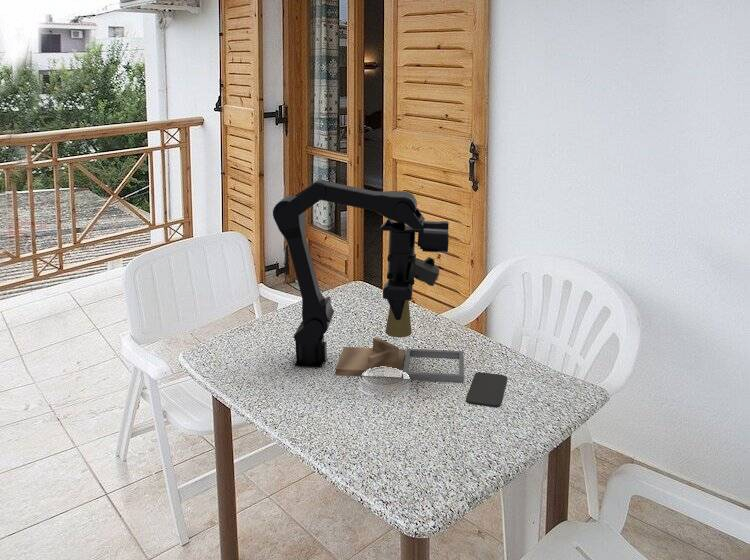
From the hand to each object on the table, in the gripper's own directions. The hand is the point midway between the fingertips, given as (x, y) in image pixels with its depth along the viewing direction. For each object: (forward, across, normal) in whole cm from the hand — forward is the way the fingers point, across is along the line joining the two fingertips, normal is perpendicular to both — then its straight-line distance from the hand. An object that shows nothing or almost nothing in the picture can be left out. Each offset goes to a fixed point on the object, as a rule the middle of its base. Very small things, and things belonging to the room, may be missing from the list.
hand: (398, 315), depth 163 cm
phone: (+13, -10, -20) cm, 26 cm away
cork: (+4, 0, 0) cm, 4 cm away
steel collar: (+12, 0, -9) cm, 15 cm away
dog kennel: (+13, 0, +7) cm, 14 cm away
